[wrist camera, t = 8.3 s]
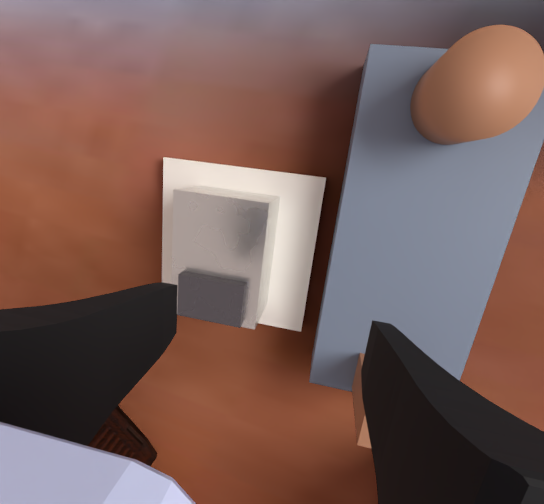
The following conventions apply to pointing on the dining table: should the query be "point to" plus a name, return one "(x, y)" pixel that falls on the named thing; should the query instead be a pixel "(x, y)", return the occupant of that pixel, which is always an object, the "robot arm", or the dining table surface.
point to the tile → (289, 234)
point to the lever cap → (223, 253)
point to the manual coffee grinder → (123, 438)
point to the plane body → (428, 198)
